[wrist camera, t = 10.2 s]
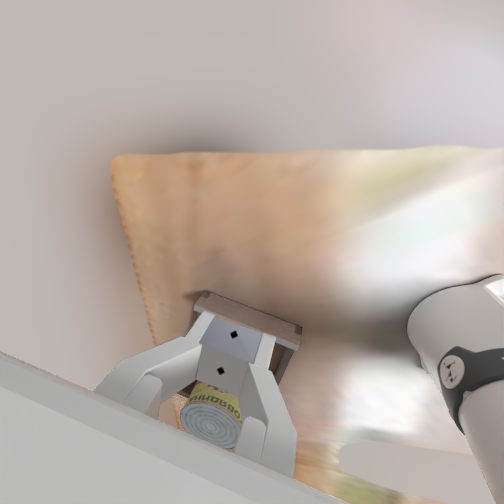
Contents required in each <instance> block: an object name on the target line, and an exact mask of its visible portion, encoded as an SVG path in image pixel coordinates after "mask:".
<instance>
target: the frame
mask: <svg viewBox="0 0 504 504" xmlns="http://www.w3.org/2000/svg"><path fill="white" fill-rule="evenodd" d="M193 310H194V311H197V317H196V320H197V319H198V317H199V316H200V315H201V313H202V312H203V311H207V312H210V313H212V314H215V315H218V316H220V317H223V318H225V319H228V320H230V321H233V322H235V323H238V324H241V325H244V326H246V327H249V328H252V329H255V330H257V331H260V332H263V333H266V334H269V335H272V336H275V338H276V340H275V343H278V344H280V345H283V346H286V348H285V351H284V353H283V355H282V357H281V360H280V362H279V364H278V367H277V369H276V371H275V373H274V378H275V381H276V383H277V386H278V384H279V382H280V380H281V378H282V376H283V374H284V372H285V369H286V367H287V365H288V363H289V361H290V359H291V356H292V354H293V352H294V350H296V351H298V349H299V347H300V341H301V333H302V327H299V326H297V325H294V324H291V323H289V322H286V321H284V320H281V319H278V318H276V317H273V316H271V315H268V314H265V313H263V312H260V311H257V310H255V309H252V308H250V307H247V306H244V305H242V304H239V303H237V302H234V301H231V300H229V299H226V298H224V297H221V296H218V295H216V294H213V293H211V292H208V291H204V293H203V294H202V295H201V297H200V298H199V299H198V300H197V302H196V303H195V304H194V309H193ZM195 322H196V321H195ZM197 381H198V380H196V379H195V381H194V382H192V383H191V384H189V385H188V386H186V387H185V388H183V389H182V390H180V391H179V392H177V393H178V394H180V395H182V396H184V397H187V398H189V396H190V394H191V392H192V391H193V389H194V387H195V385H196V383H197Z"/></svg>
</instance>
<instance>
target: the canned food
mask: <svg viewBox="0 0 504 504" xmlns="http://www.w3.org/2000/svg"><path fill="white" fill-rule="evenodd" d="M237 397H238V396H235V395H233V394H231V393H228V392H226V391H224V390H222V389H219V388H217V387H215V386H212V385H209V384H207V383H204V382H201V381H197V383H196V385H195V387H194V389H193V391H192V392H191V394H190V396H189V398H188V400H187V402H186V404H185V406H184V407H183V408H182V410H181V413H180V420H181V423H182V425H183V427H184V429H185V430H186V431H187V432H188V433H189V434H191V435H193V436H196V437H198V438H200V439H202V440H205V441H207V442H209V443H212V444H214V445H216V446H219V447H221V448H223V449H225V450H227V449H232V448H234V447H235V444H236V441H237V439H238V436H239V433H240V431H241V428H242V425H243V424H242V419H241V414H240V409H239V404H238V398H237Z"/></svg>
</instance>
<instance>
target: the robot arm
mask: <svg viewBox="0 0 504 504" xmlns="http://www.w3.org/2000/svg"><path fill="white" fill-rule="evenodd" d="M407 333H408V337H409V340H410V342H411V344H412V345H413V346H414V348H415V349H416V350H417V352H418V353H419V355H420V360H421V365H422V367H423V369H424V370H425V372H426V373H428V374H430V375H431V376H432V378H433V380H434V382H435V383H436V385H437V387H438V389H439V390H440V392H441V394H442V396H443V397H444V400H445V402H446V404H447V407H448V409H449V413H450V415H451V417H452V419H453V420H454V421H455V423H456V425H457V427H458V428H459V430H460V431H461V432H462V433H463V434H464V435H465V436H466V438H467V440H468V443H469V445H470V447H471V449H472V452H473V454H474V456H475V458H476V460H477V463H478V465H479V467H480V469H481V471H482V473H483V476H484V478H485V480H486V482H487V485H488V487H489V489H490V491H491V493H492V496H493V498H494V500H495V502H496V504H504V275H495V276H492V277H489V278H487V279H485V280H482V281H480V282H478V283H475V284H471V285H464V286H456V287H451V288H448V289H444V290H441V291H439V292H436V293H434V294H432V295H431V296H429V297H427V298H426V299H424V300H423V301H422V302H421V303H419V304H418V305H417V307H416V308H415V309H414V310H413V312H412V313H411V315H410V317H409V320H408V324H407ZM275 340H276V338H275V336H272V335H269V334H266V333H263V332H260V331H257V330H255V329H252V328H249V327H246V326H244V325H241V324H238V323H235V322H233V321H230V320H228V319H225V318H223V317H220V316H218V315H215V314H212V313H210V312H207V311H203V312H202V313H201V315H200V316H199V317H198V319H197V320H196V322H195V323H194V325H193V326H192V328H191V329H190V330H189V332H188V333H187V335H186V336H185V338H184V337H182V336H180V337H178V338H176V339H173V340H171V341H168V342H166V343H163V344H161V345H159V346H156V347H154V348H152V349H149V350H147V351H144V352H142V353H139V354H137V355H134V356H132V357H129V358H127V359H125V360H122V361H120V362H119V363H118V364H117V366H116V367H115V368H114V369H113V370H112V371H111V372H110V373H109V374H108V375H107V377H106V378H105V379H104V380H103V381H102V382H101V383H100V384H99V385H98V386H97V388H96V389H95V390H94V391H93V392H92V391H90V390H87V389H85V388H83V387H81V386H78V385H76V384H74V383H71V382H69V381H67V380H65V379H62V378H60V377H58V376H55V375H53V374H51V373H49V372H46V371H44V370H42V369H39V368H37V367H35V366H33V365H30V364H28V363H26V362H23V361H21V360H19V359H16V358H14V357H12V356H10V355H7V354H5V353H3V352H0V504H350V503H347V502H345V501H343V500H340V499H338V498H336V497H334V496H331V495H329V494H327V493H324V492H322V491H320V490H318V489H315V488H313V487H311V486H308V485H306V484H304V483H301V482H299V481H297V480H295V479H293V476H294V466H295V456H296V445H297V432H296V430H295V427H294V425H293V422H292V420H291V418H290V415H289V413H288V410H287V408H286V405H285V403H284V400H283V398H282V395H281V393H280V390H279V388H278V386H277V383H276V381H275V378H274V376H273V373H272V371H269V370H268V368H269V364H270V360H271V356H272V352H273V348H274V344H275ZM195 379H196V380H198V381H201V382H204V383H207V384H209V385H212V386H215V387H217V388H219V389H222V390H224V391H226V392H228V393H231V394H233V395H235V396H238V397H237V398H238V404H239V409H240V414H241V419H242V424H243V425H242V428H241V431H240V433H239V436H238V439H237V441H236V444H235V447H234V449H233V452H230V451H228V450H225V449H223V448H221V447H219V446H216V445H214V444H212V443H209V442H207V441H205V440H202V439H200V438H198V437H196V436H193V435H191V434H189V433H186V432H184V431H182V430H179V429H177V428H175V427H173V426H170V425H168V424H165V423H163V422H161V421H159V420H158V416H159V408H160V404H161V403H162V402H164V401H165V400H167V399H168V398H170V397H171V396H173V395H174V394H176V393H177V392H179V391H180V390H182V389H183V388H185V387H186V386H188V385H189V384H191V383H192V382H194V381H195Z"/></svg>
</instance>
